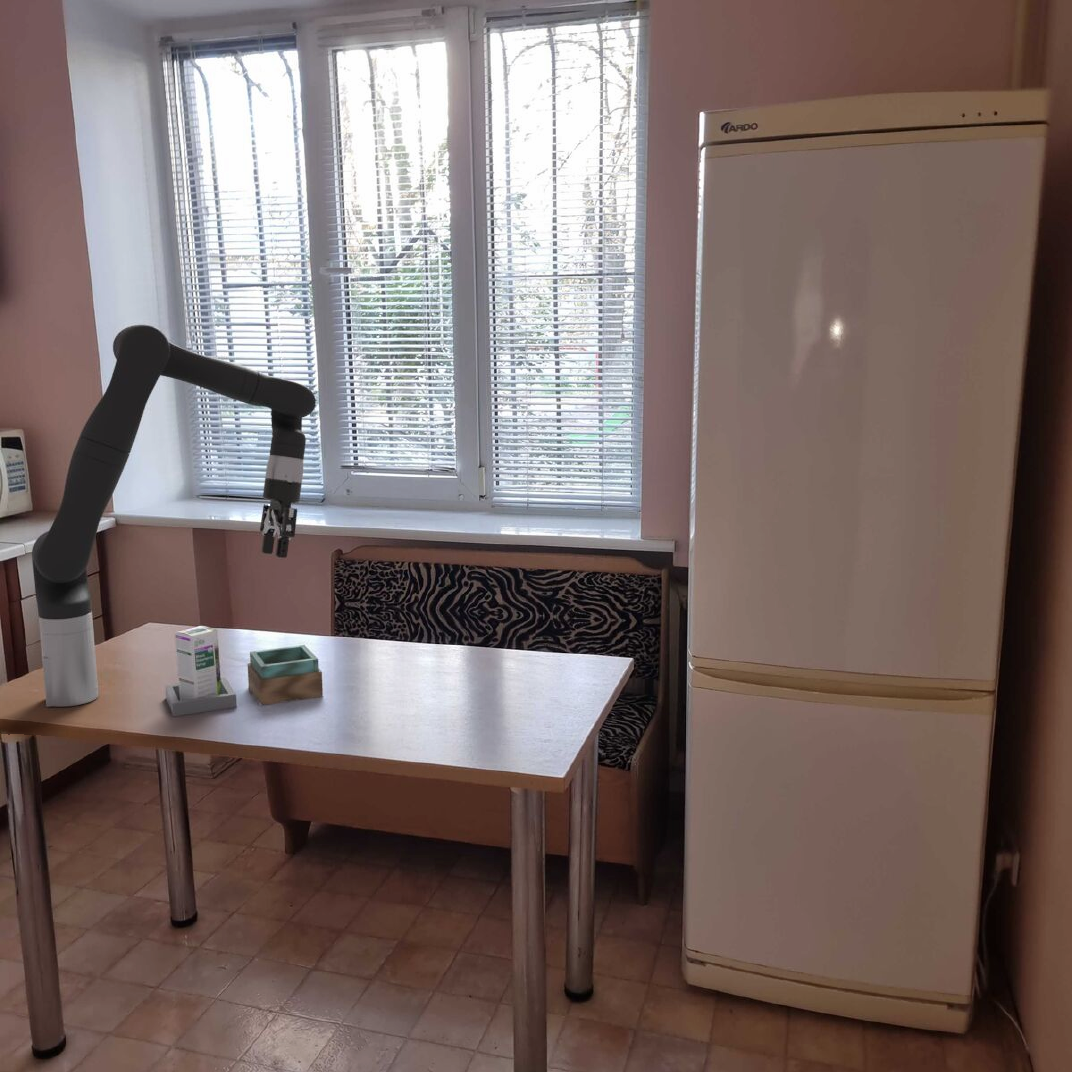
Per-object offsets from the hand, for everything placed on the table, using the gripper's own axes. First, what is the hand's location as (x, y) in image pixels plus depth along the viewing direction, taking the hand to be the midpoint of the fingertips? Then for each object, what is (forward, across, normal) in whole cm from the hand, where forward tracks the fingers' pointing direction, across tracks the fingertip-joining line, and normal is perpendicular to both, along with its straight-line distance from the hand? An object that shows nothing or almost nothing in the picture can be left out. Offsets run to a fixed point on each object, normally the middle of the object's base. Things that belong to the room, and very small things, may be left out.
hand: (273, 555), depth 203 cm
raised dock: (+26, +13, +1) cm, 29 cm away
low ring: (+29, +10, -14) cm, 34 cm away
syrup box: (+29, +10, -14) cm, 34 cm away
